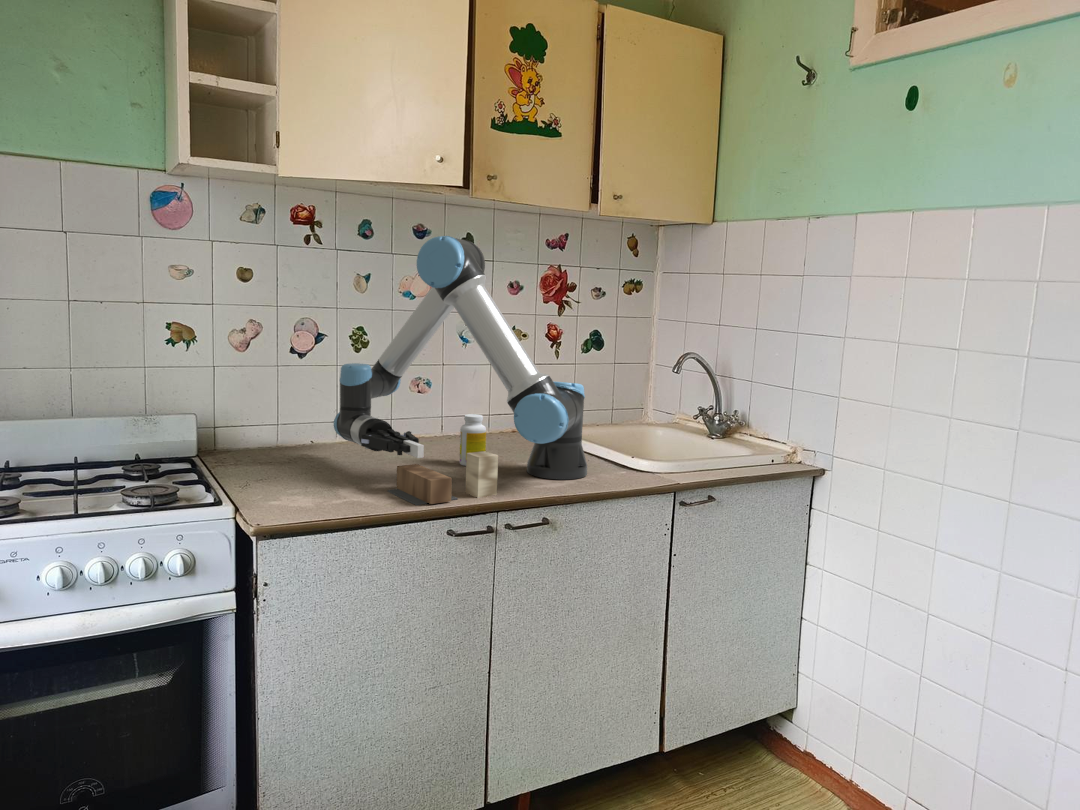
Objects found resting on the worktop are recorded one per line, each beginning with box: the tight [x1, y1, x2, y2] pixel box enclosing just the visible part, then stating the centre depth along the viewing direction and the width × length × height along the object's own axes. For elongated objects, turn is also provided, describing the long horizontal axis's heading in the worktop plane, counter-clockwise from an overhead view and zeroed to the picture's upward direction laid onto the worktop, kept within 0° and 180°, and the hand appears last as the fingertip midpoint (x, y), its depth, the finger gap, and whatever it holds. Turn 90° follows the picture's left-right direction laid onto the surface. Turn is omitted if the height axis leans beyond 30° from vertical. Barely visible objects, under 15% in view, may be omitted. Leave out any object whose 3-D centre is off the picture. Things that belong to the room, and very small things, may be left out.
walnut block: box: [396, 463, 453, 505], centre depth 170 cm, size 5×5×15 cm
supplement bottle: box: [459, 413, 487, 467], centre depth 202 cm, size 7×7×13 cm
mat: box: [386, 488, 458, 506], centre depth 171 cm, size 10×13×1 cm
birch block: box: [464, 450, 499, 499], centre depth 174 cm, size 5×5×9 cm
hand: (420, 451), depth 170 cm, fingers closed
